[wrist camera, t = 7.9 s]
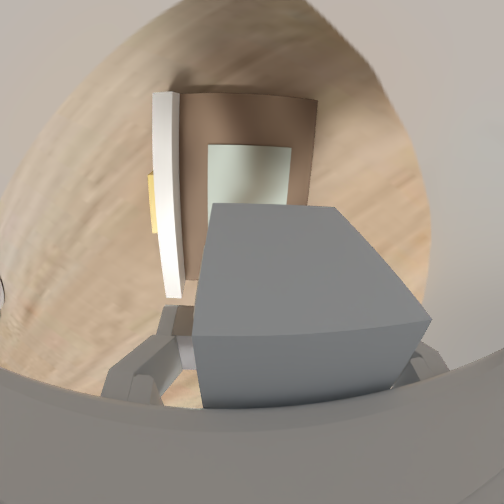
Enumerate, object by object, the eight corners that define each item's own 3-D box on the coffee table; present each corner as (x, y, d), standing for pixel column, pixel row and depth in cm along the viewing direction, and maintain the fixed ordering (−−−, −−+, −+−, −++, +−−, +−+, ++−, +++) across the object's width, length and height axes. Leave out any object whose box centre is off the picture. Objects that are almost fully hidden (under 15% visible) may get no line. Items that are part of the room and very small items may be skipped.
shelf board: (173, 271, 29) (171, 280, 27) (166, 96, 20) (161, 94, 19) (293, 272, 30) (296, 281, 29) (312, 101, 21) (318, 100, 20)
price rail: (166, 279, 28) (160, 297, 25) (155, 95, 19) (145, 93, 16) (185, 280, 28) (181, 298, 25) (179, 94, 19) (172, 91, 16)
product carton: (212, 339, 14) (209, 462, 8) (207, 202, 11) (180, 335, 4) (307, 336, 15) (339, 450, 8) (334, 207, 11) (432, 319, 5)
